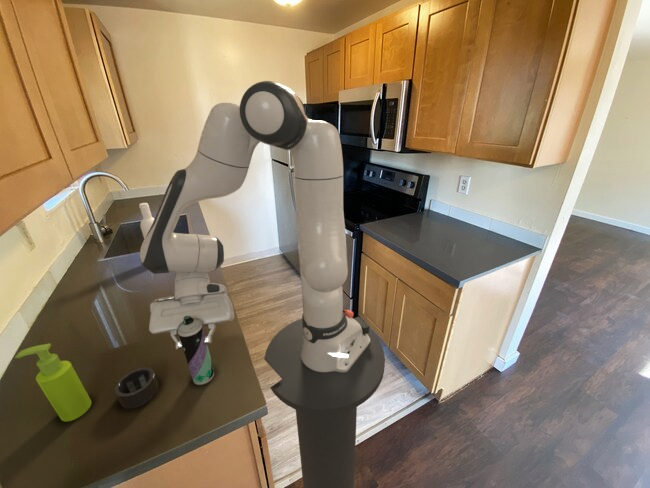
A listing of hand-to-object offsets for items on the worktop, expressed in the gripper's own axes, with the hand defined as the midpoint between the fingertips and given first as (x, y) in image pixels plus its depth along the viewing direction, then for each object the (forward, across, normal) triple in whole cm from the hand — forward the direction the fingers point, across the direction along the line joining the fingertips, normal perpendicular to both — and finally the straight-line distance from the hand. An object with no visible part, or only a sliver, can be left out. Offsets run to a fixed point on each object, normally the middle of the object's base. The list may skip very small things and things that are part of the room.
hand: (194, 346), depth 70 cm
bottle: (-49, -32, +66) cm, 88 cm away
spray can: (+8, 0, +9) cm, 12 cm away
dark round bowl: (+8, -15, +8) cm, 19 cm away
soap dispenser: (+9, -30, +7) cm, 32 cm away
